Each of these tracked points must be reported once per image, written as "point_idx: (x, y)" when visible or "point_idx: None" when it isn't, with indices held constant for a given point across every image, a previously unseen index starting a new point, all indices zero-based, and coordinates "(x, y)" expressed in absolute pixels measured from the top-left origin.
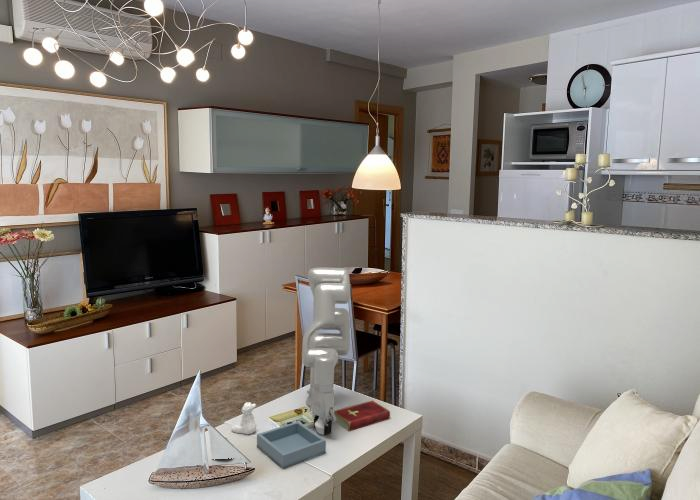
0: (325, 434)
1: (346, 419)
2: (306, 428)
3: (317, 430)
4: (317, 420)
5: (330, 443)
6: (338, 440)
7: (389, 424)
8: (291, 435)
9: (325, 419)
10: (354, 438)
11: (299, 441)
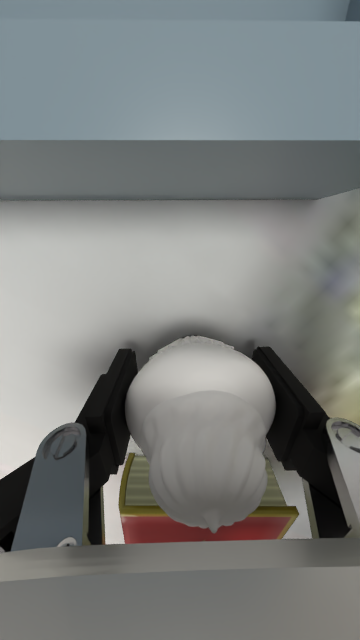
0: (119, 354)
1: (162, 520)
2: (117, 70)
3: (194, 337)
4: (247, 416)
5: (39, 326)
6: (60, 380)
7: (105, 541)
8: (332, 13)
9: (38, 536)
10: None
11: (128, 12)
